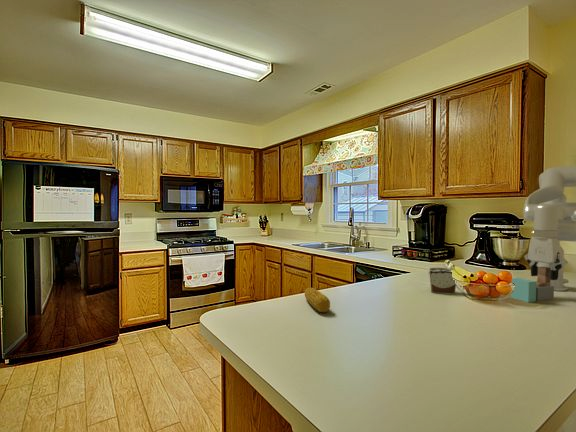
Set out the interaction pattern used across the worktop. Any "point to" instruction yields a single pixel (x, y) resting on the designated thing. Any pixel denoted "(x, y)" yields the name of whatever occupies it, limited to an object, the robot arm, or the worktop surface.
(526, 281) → the teal rectangular block
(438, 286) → the food container
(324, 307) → the food
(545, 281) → the rod
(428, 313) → the worktop surface
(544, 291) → the guide channel
